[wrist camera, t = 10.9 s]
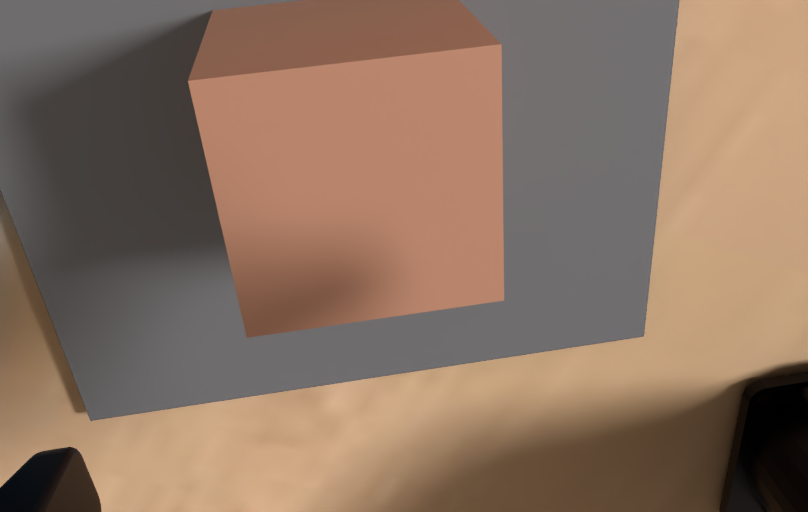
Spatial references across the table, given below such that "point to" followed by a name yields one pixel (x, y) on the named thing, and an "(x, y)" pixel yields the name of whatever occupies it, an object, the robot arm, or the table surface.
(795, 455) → the robot arm
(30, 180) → the gray mat
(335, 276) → the terracotta cube
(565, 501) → the table surface
